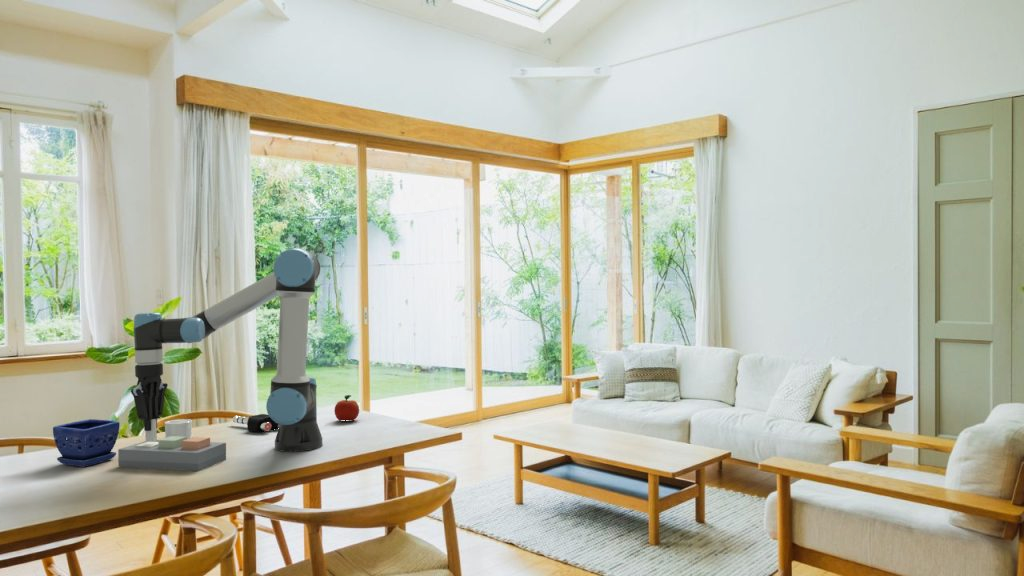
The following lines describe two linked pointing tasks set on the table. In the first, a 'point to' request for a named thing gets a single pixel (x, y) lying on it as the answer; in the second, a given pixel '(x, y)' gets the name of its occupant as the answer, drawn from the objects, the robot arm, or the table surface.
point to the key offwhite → (148, 444)
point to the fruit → (346, 409)
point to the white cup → (178, 428)
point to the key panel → (172, 465)
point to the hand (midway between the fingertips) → (151, 440)
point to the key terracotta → (196, 443)
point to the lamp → (257, 423)
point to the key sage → (171, 442)
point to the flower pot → (86, 441)
